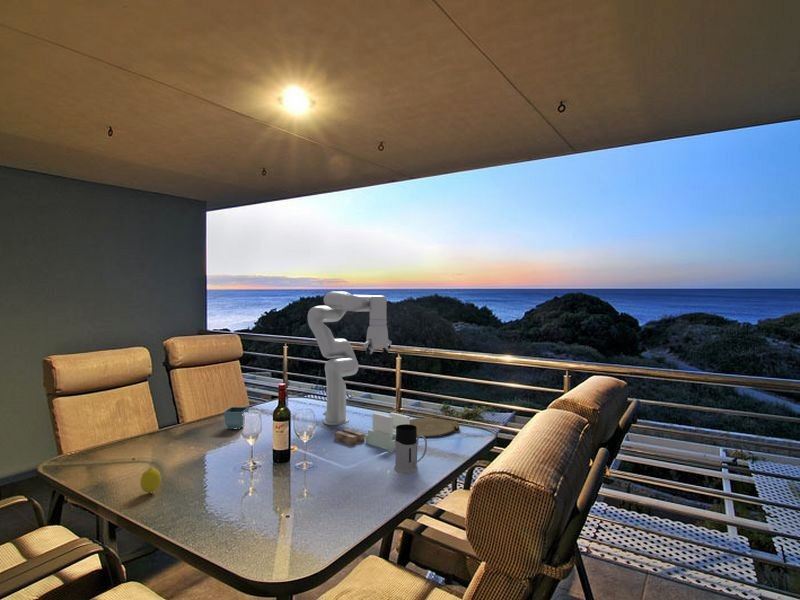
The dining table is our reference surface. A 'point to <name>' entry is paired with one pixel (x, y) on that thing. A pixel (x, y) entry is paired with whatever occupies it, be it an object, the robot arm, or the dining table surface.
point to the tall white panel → (383, 424)
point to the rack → (386, 440)
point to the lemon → (150, 480)
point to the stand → (349, 437)
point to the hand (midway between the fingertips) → (377, 361)
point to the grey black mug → (407, 449)
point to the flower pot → (234, 417)
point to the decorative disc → (434, 426)
